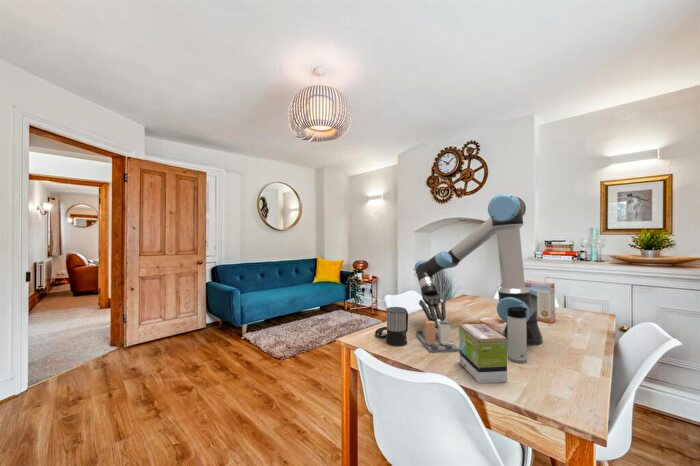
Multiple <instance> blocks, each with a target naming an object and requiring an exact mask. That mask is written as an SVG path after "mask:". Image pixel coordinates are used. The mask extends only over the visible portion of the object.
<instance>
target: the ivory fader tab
mask: <svg viewBox="0 0 700 466" xmlns="http://www.w3.org/2000/svg"><path fill="white" fill-rule="evenodd" d="M450 324H451V323H450V321H448V320H443V321H439V341H440V343H441V344H442V345H449V342H450V341H451V339H450V338H451V336H450V335H451V333H450V332H451V331H450V330H451V327H450V326H451V325H450Z"/></svg>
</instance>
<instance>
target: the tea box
mask: <svg viewBox="0 0 700 466" xmlns="http://www.w3.org/2000/svg"><path fill="white" fill-rule="evenodd" d="M458 343H459V347H458V348H459V352H458V354H459V357H458V358H459V364H460V365H461V366H462V367H464V368H465V370H466V371H467V372H468V373H469V375H471V376H472V377H473V378H474V379H475V380H476V382H477V383H478V384H487V383H488V384H490V383H493V384H494V383H505V382H506V383H507V382H508V340H507V338H506V337H504V335H503V334H501V333H499V332H498V331H496V330H495V329H494V328H493V329H492V328H491V327H490V326H488V325H486V324H484V323H470V324H469V323H468V324H467V323H466V324H465V323H464V324H459V325H458Z"/></svg>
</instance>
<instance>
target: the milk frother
mask: <svg viewBox="0 0 700 466" xmlns="http://www.w3.org/2000/svg"><path fill="white" fill-rule="evenodd" d="M385 311H386V326H382V327H379V328H377V329H376V330H375V332H374V335H375V336H376V337H378V338H380V339H385V338H386V341H385V342H386V344H387V345H390V346H394V347H402V346H406V345H407V344H408V339H407V337H408V336H407V332H408V331H409V329H408V328H409V311H408V310H407V308H405V307H402V306H390V307H387V308H386V309H385ZM384 331H386V333H385V334H383V332H384ZM382 334H383V335H382Z"/></svg>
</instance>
